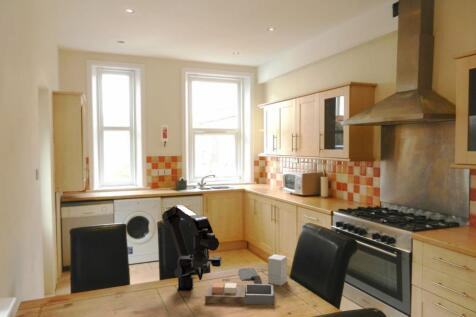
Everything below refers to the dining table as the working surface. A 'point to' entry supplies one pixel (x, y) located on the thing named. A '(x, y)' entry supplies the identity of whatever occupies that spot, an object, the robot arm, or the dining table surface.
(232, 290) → the cream tile
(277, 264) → the supplement box
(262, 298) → the box
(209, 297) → the tan board
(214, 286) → the terracotta tile
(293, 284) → the dining table surface
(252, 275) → the cleaver
